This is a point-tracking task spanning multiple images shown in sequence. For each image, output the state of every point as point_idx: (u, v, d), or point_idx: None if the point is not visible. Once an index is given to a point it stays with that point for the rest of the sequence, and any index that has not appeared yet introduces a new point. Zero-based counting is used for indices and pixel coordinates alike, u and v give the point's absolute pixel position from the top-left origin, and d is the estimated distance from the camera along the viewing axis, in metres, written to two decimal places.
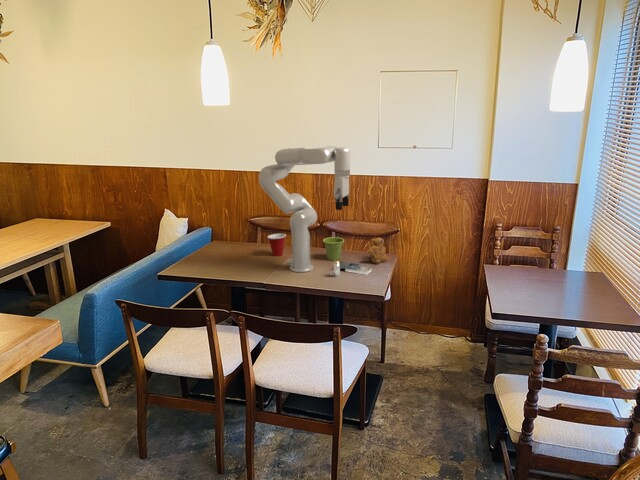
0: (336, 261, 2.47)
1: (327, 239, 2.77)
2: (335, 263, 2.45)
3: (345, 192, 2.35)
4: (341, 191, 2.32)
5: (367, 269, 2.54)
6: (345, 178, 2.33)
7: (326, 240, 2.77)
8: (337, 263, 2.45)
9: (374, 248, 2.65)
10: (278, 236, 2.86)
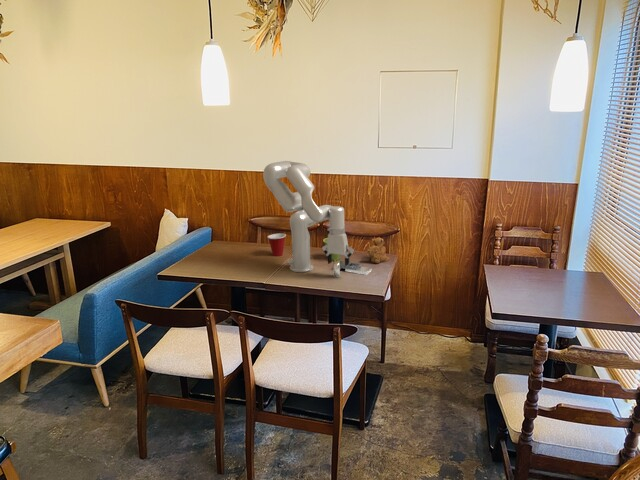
0: (336, 261, 2.47)
1: (327, 239, 2.77)
2: (335, 263, 2.45)
3: None
4: None
5: (367, 269, 2.54)
6: None
7: (326, 240, 2.77)
8: (337, 263, 2.45)
9: (374, 248, 2.66)
10: (278, 236, 2.86)
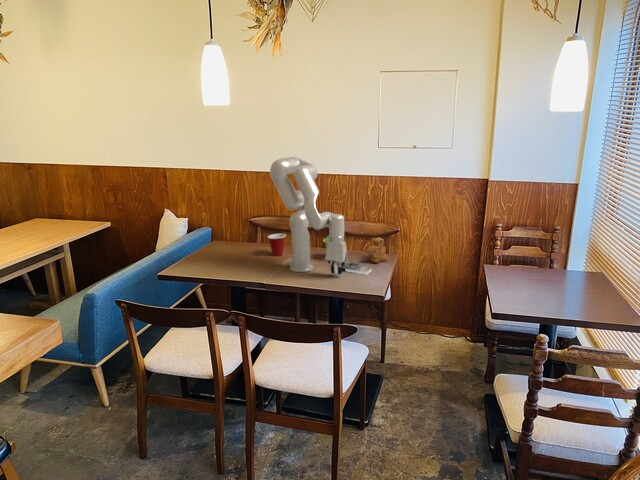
0: None
1: (327, 239, 2.77)
2: (335, 263, 2.45)
3: None
4: (346, 254, 2.44)
5: (367, 269, 2.54)
6: None
7: (326, 240, 2.77)
8: (337, 263, 2.45)
9: (373, 248, 2.66)
10: (278, 236, 2.86)
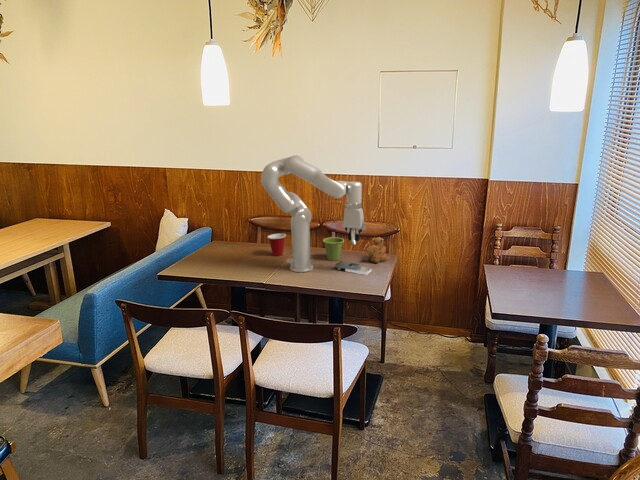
0: (353, 228, 2.51)
1: (327, 239, 2.77)
2: (352, 230, 2.50)
3: None
4: (363, 221, 2.49)
5: (367, 269, 2.54)
6: None
7: (326, 240, 2.77)
8: (354, 230, 2.50)
9: (373, 247, 2.67)
10: (278, 236, 2.86)
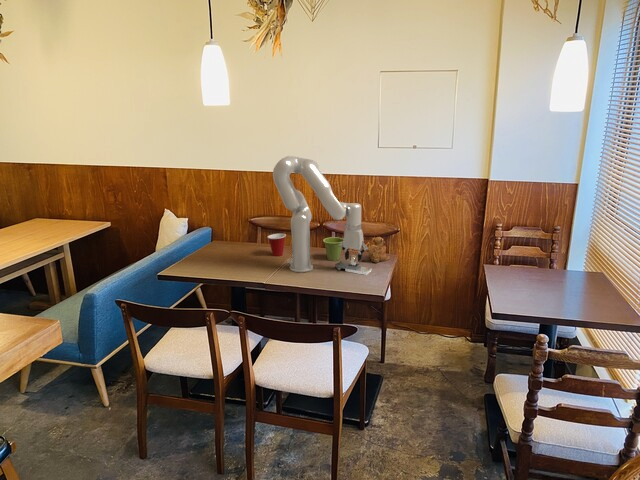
0: (352, 256, 2.55)
1: (327, 239, 2.77)
2: (352, 258, 2.54)
3: None
4: None
5: (367, 269, 2.54)
6: None
7: (326, 240, 2.77)
8: (354, 258, 2.54)
9: (373, 247, 2.67)
10: (278, 236, 2.86)
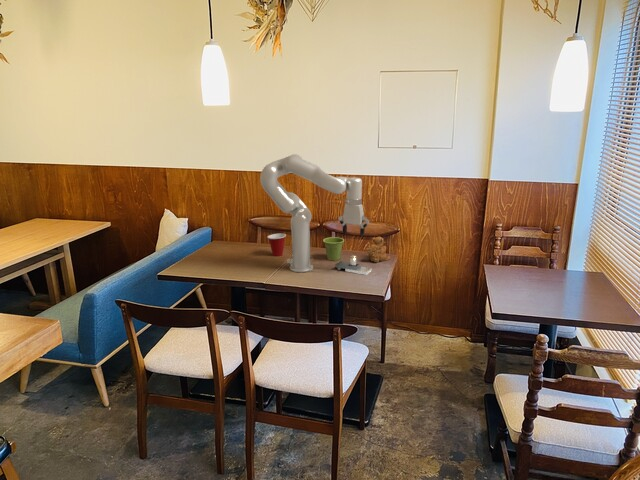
0: (353, 256, 2.55)
1: (327, 239, 2.77)
2: (352, 258, 2.54)
3: None
4: None
5: (367, 269, 2.54)
6: None
7: (326, 240, 2.77)
8: (354, 258, 2.54)
9: (373, 247, 2.68)
10: (278, 236, 2.86)
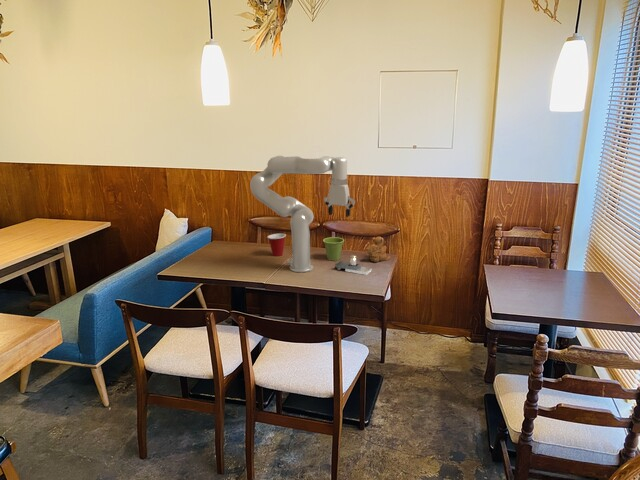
0: (353, 256, 2.55)
1: (327, 239, 2.77)
2: (352, 258, 2.54)
3: None
4: None
5: (367, 269, 2.54)
6: None
7: (326, 240, 2.77)
8: (354, 258, 2.54)
9: (373, 246, 2.68)
10: (278, 236, 2.86)
